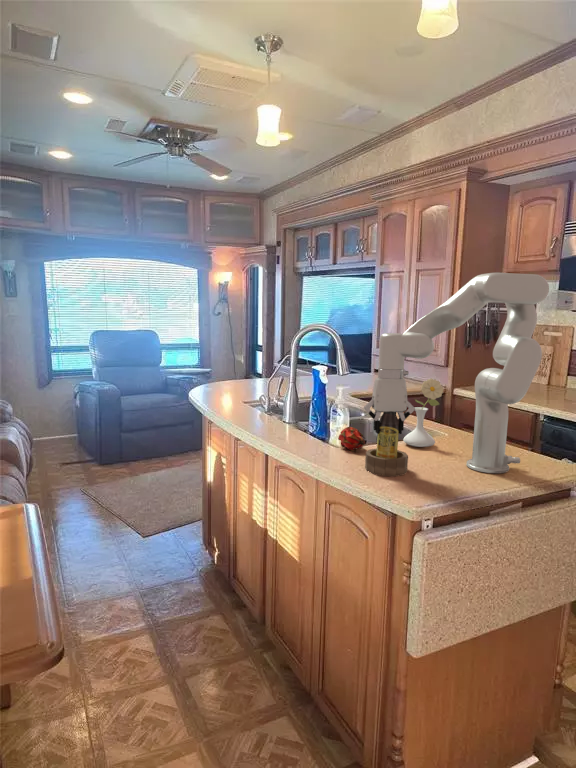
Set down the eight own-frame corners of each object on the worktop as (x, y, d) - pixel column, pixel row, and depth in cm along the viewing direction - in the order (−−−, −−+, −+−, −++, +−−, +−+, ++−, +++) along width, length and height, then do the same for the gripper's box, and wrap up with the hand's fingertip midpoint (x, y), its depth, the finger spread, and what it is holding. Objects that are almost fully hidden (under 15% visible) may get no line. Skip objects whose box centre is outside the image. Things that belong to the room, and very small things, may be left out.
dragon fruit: (342, 448, 184) (361, 461, 174) (328, 437, 180) (346, 450, 169) (356, 429, 184) (375, 441, 174) (342, 418, 180) (361, 430, 170)
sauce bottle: (374, 464, 153) (376, 400, 150) (378, 458, 159) (380, 396, 156) (396, 466, 150) (398, 401, 148) (399, 461, 156) (401, 398, 153)
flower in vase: (401, 447, 180) (405, 379, 177) (404, 440, 191) (407, 375, 187) (439, 451, 176) (444, 381, 173) (439, 443, 187) (444, 377, 184)
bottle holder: (400, 463, 161) (401, 448, 160) (411, 476, 149) (412, 460, 148) (362, 463, 161) (363, 448, 160) (369, 475, 149) (370, 459, 148)
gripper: (415, 373, 155) (412, 430, 157) (360, 372, 154) (358, 429, 157) (422, 376, 147) (419, 436, 150) (364, 375, 147) (362, 435, 149)
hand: (388, 432), depth 153 cm, fingers closed on sauce bottle, 6 cm apart
